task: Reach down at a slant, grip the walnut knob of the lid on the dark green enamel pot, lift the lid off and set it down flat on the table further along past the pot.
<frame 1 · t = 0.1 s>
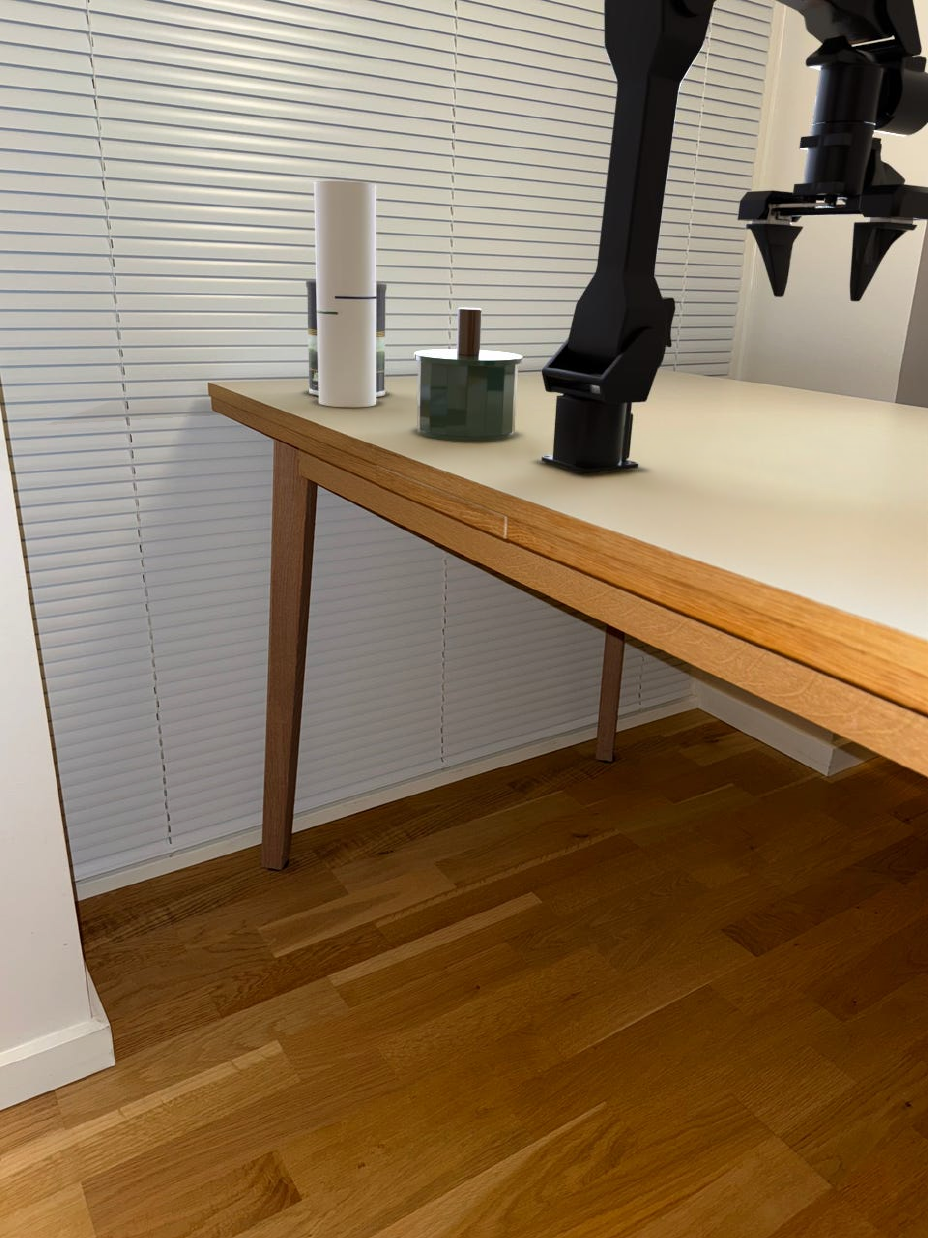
hand: (815, 298, 94), 15 cm above the table, tool pointing down, fingers open, 9 cm apart
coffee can: (347, 395, 125), on the table
lid: (468, 360, 96), point 7 cm above the table, touching pot
cylindrical container: (347, 404, 117), on the table
pot: (465, 433, 99), on the table
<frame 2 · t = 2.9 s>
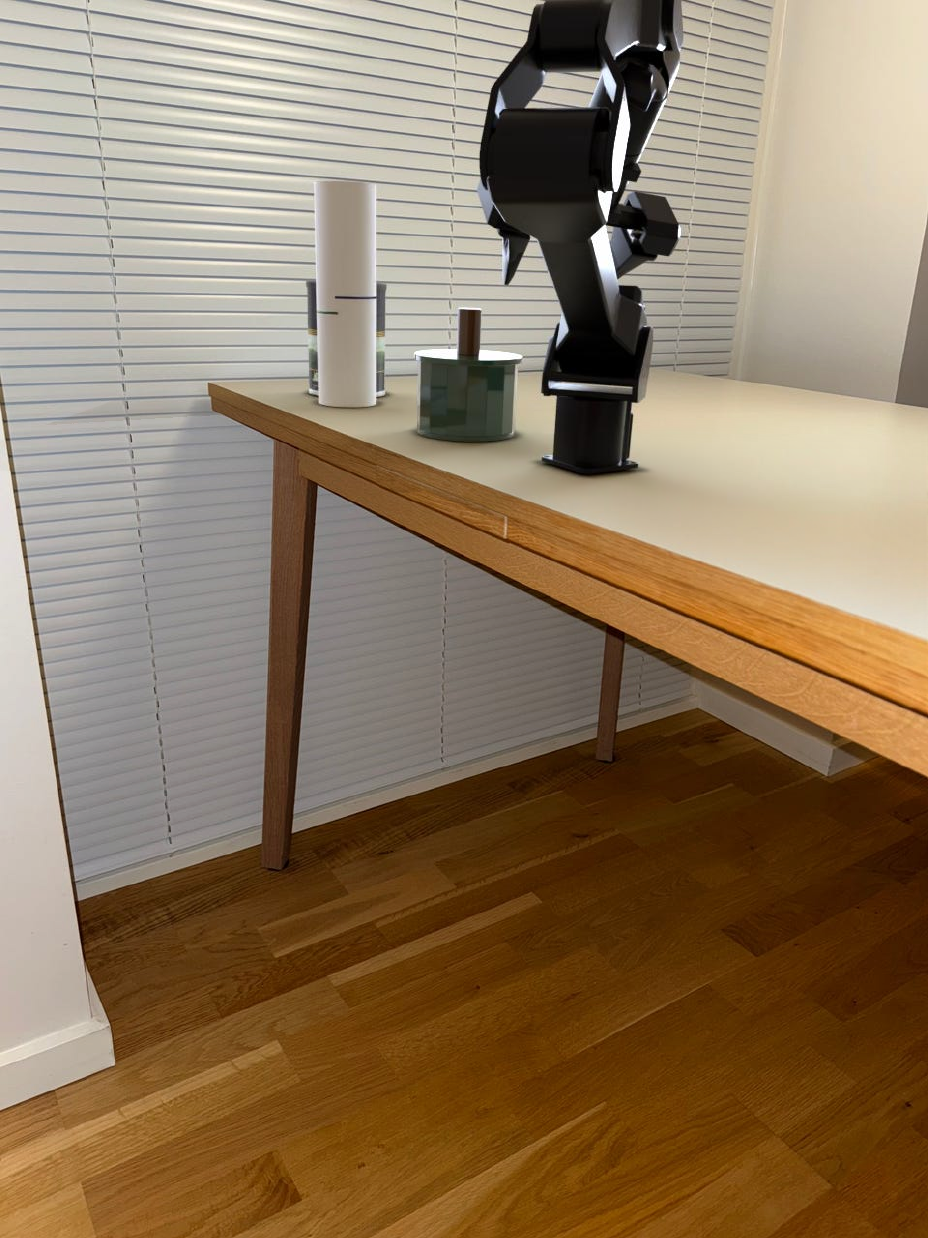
hand: (548, 288, 92), 15 cm above the table, tool tilted 35°, fingers open, 9 cm apart
nothing on the table moved.
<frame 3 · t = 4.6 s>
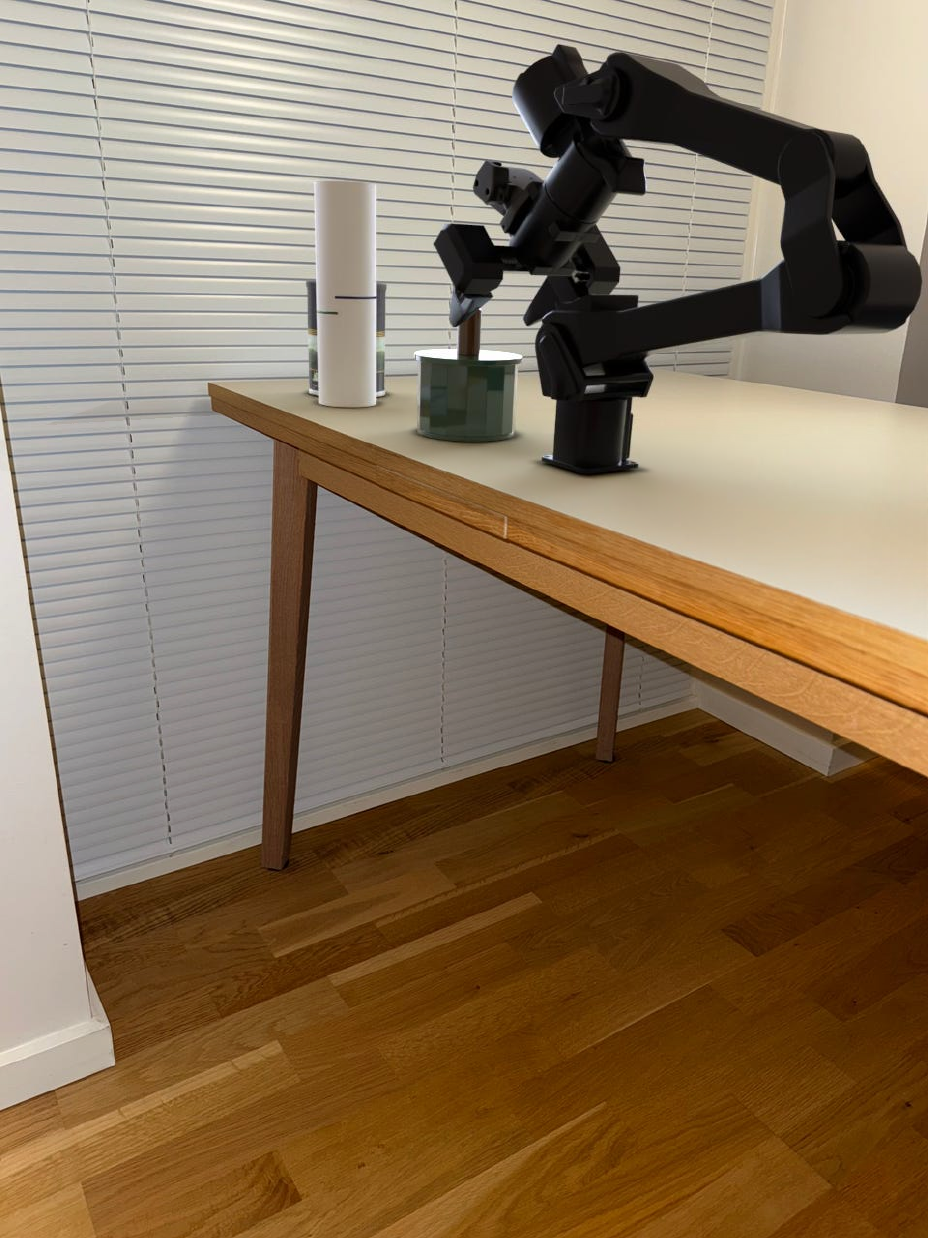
hand: (490, 323, 92), 11 cm above the table, tool tilted 45°, fingers open, 9 cm apart
nothing on the table moved.
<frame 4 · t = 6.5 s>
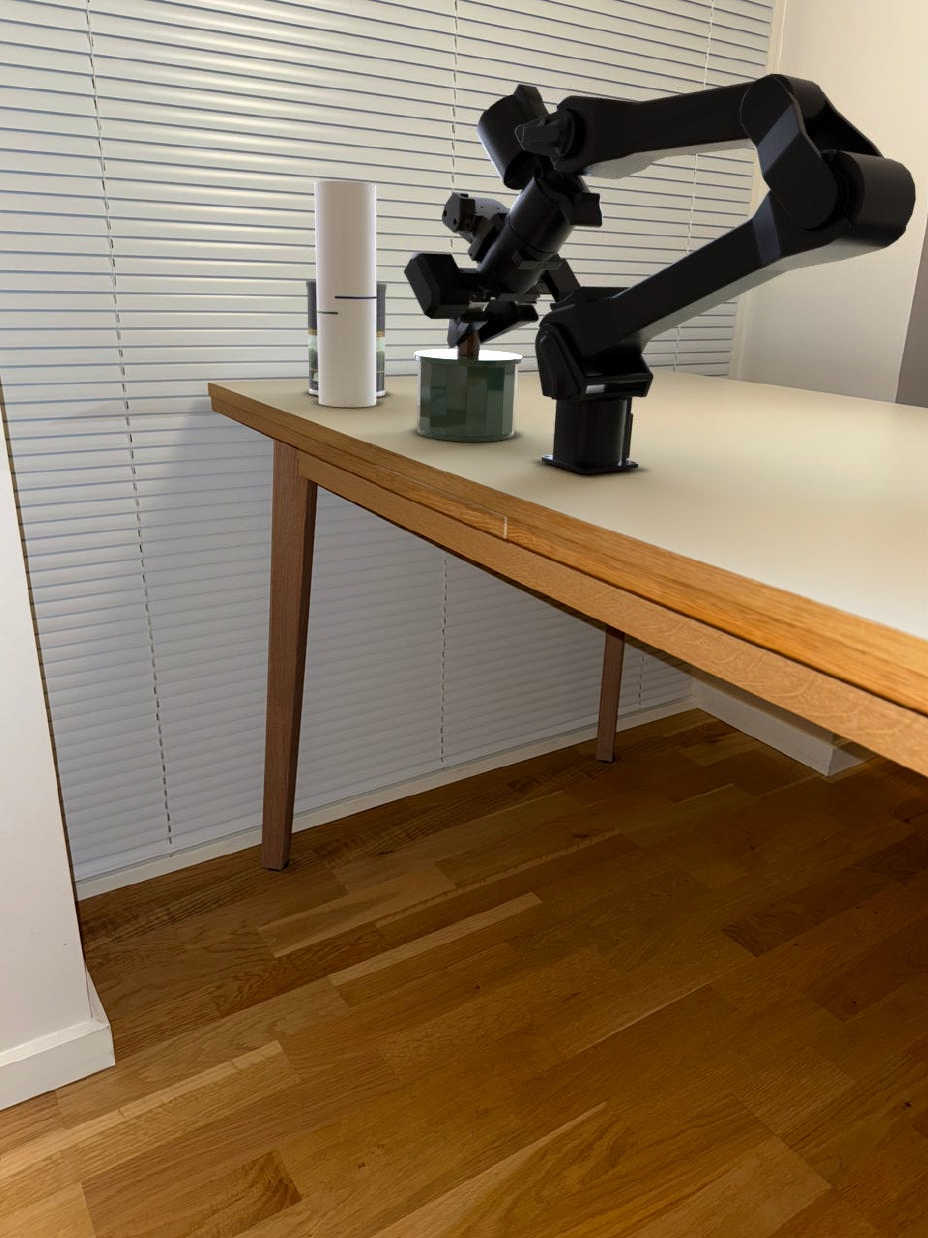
hand: (460, 344, 97), 9 cm above the table, tool tilted 45°, fingers closed on lid, 2 cm apart
lid: (468, 360, 96), point 7 cm above the table, touching gripper, pot
everything else where it was.
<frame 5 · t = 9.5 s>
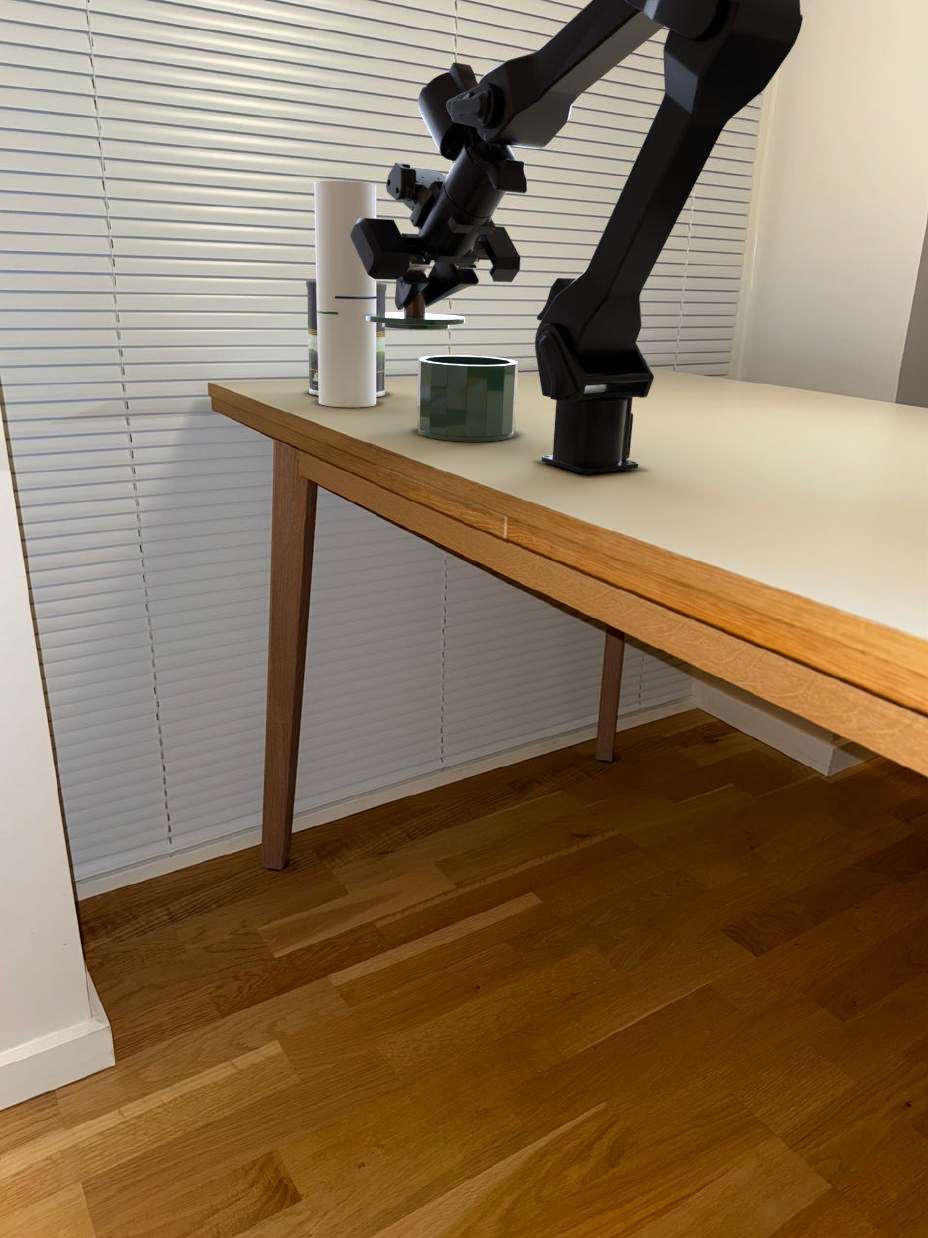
hand: (408, 306, 104), 12 cm above the table, tool tilted 45°, fingers closed on lid, 2 cm apart
lid: (414, 321, 104), point 11 cm above the table, touching gripper
everything else where it was.
when the fingers open (3 cm above the table, at t = 12.4 s): lid stays where it is, point 1 cm above the table.
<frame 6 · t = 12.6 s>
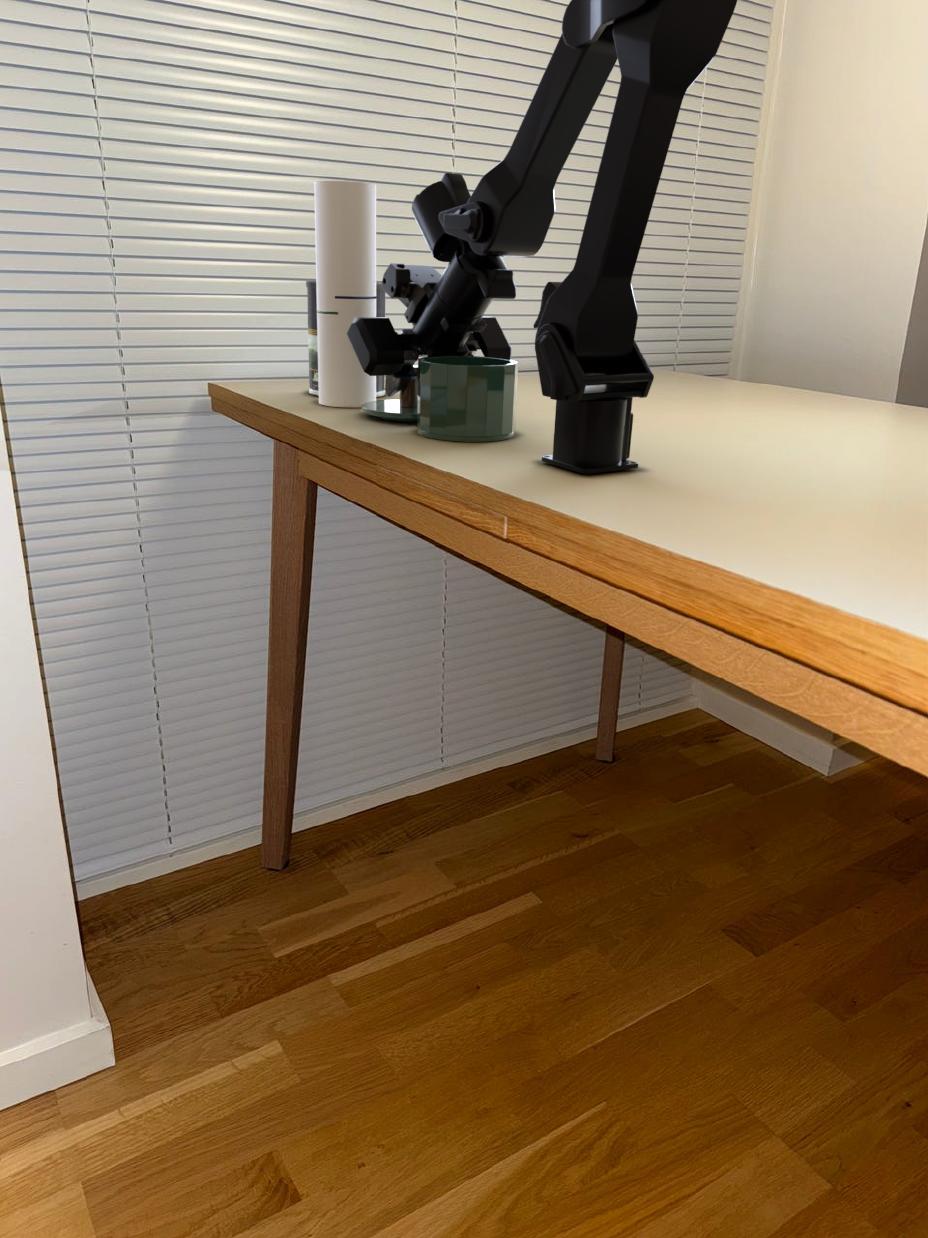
hand: (403, 392, 108), 3 cm above the table, tool tilted 45°, fingers open, 4 cm apart
lid: (409, 411, 108), point 1 cm above the table
everything else where it was.
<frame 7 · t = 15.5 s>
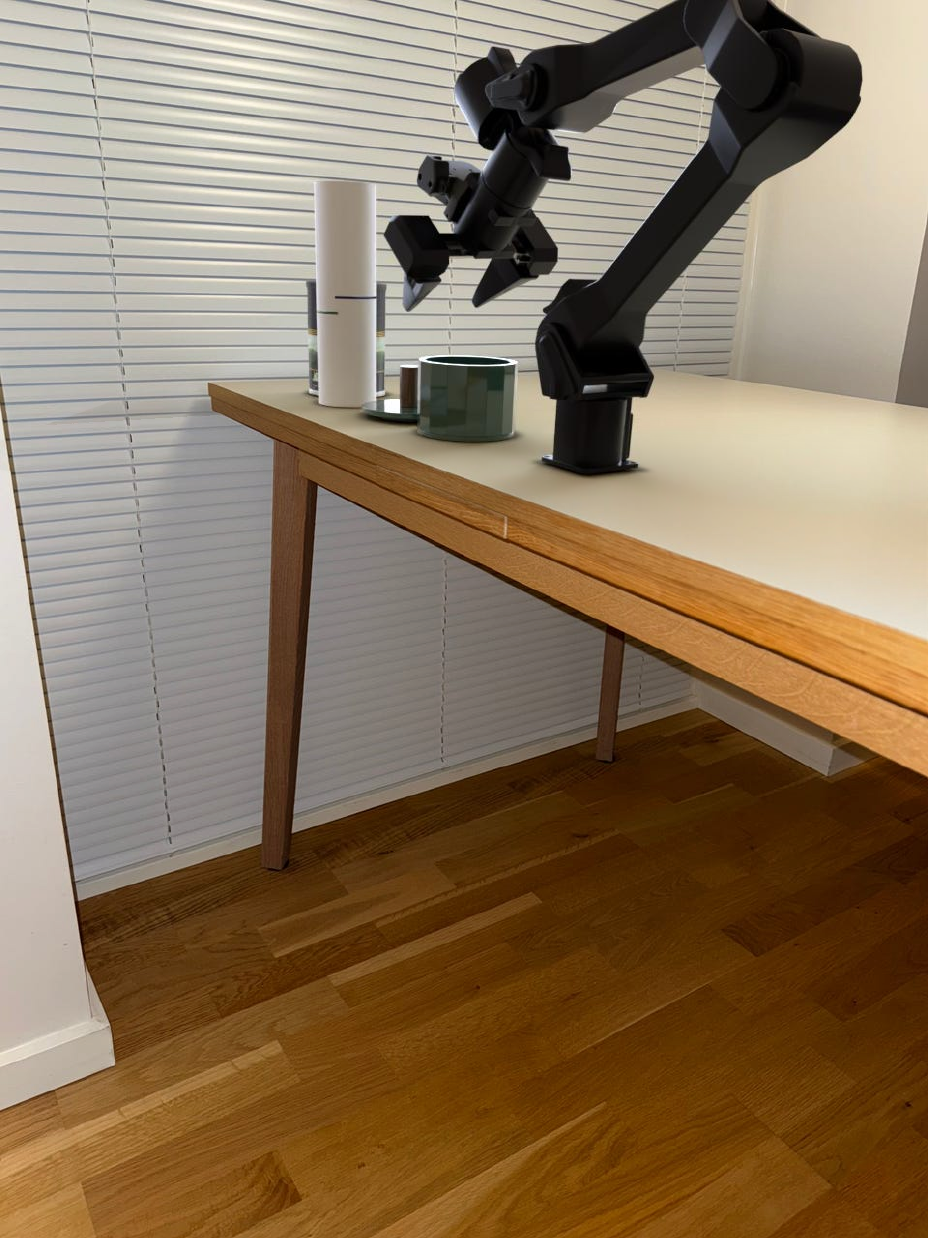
hand: (441, 306, 99), 12 cm above the table, tool tilted 45°, fingers open, 9 cm apart
nothing on the table moved.
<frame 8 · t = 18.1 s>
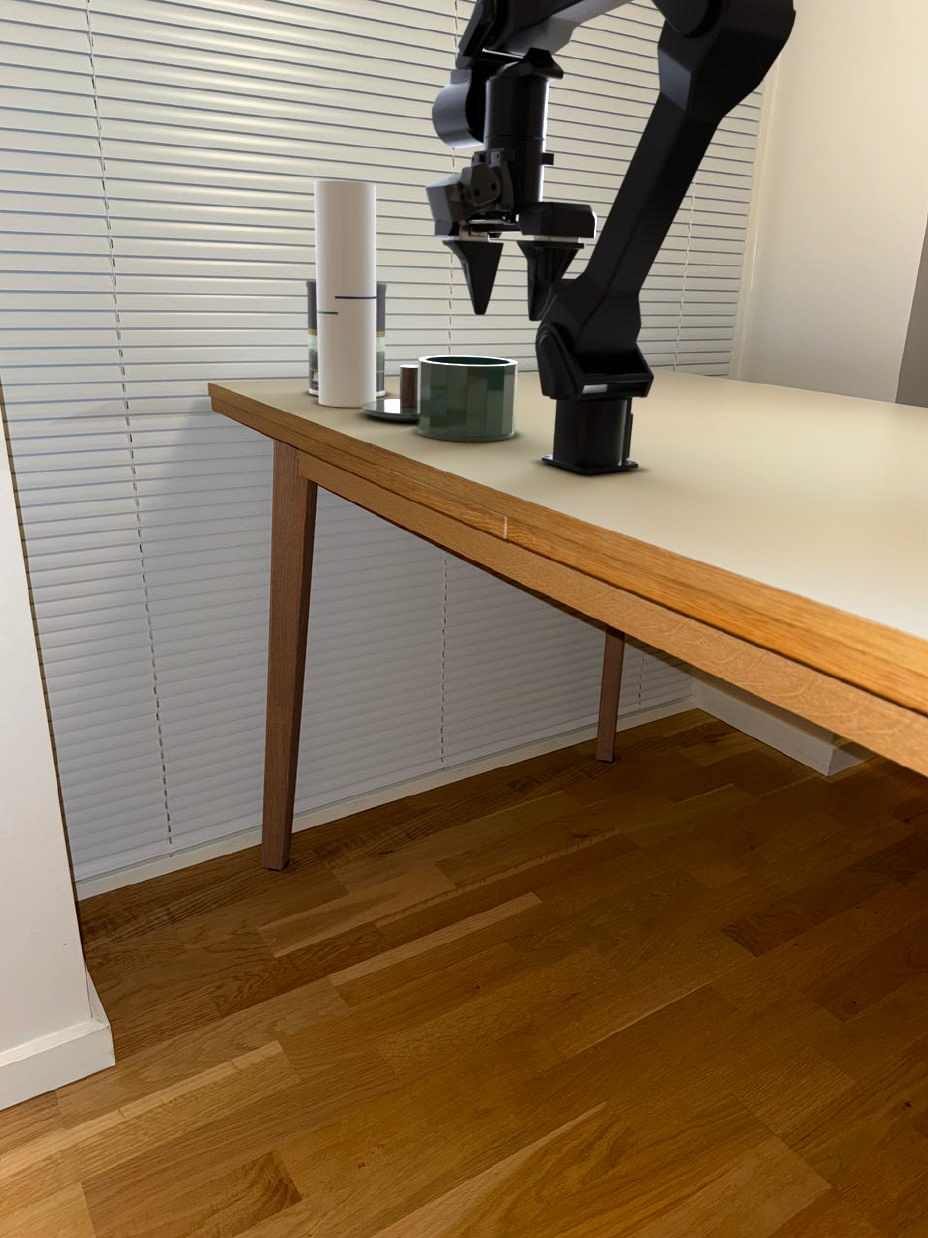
hand: (506, 317, 91), 12 cm above the table, tool pointing down, fingers open, 9 cm apart
nothing on the table moved.
at the end: lid point 0.6 cm above the table; lid inside the target area (0.1 cm from its centre), point 0.6 cm above the table; lid tilted 0° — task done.
